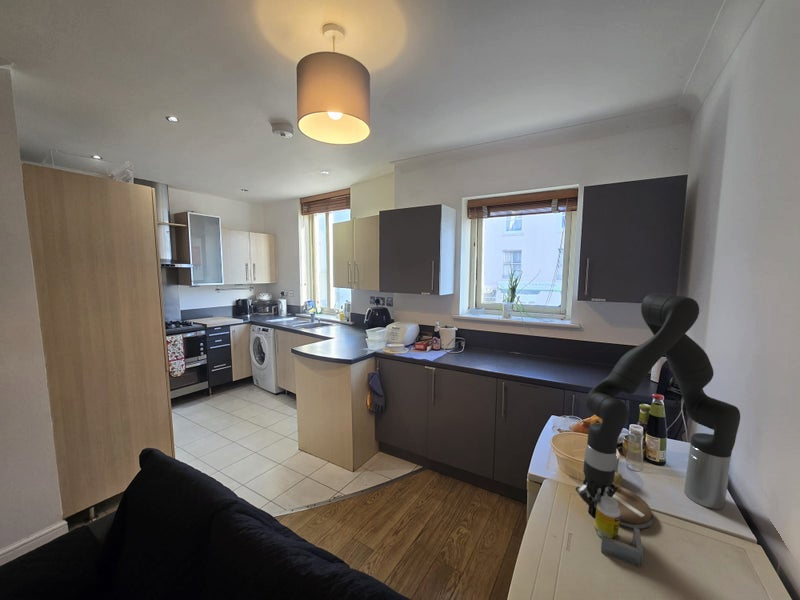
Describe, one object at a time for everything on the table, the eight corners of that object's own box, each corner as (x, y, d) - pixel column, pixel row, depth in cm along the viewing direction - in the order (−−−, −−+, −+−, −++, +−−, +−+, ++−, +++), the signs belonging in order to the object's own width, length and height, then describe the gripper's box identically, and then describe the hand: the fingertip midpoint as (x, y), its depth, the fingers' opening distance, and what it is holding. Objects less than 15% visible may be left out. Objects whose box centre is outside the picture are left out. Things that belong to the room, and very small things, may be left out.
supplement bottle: (614, 546, 85) (618, 512, 83) (591, 533, 89) (595, 500, 87) (619, 533, 89) (623, 500, 87) (597, 521, 93) (600, 490, 91)
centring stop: (634, 539, 87) (636, 526, 86) (659, 561, 80) (660, 547, 80) (598, 549, 84) (599, 535, 83) (620, 572, 78) (622, 558, 77)
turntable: (580, 494, 102) (582, 476, 101) (612, 482, 107) (613, 465, 106) (629, 531, 88) (631, 511, 87) (662, 515, 93) (664, 496, 93)
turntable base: (617, 485, 107) (617, 483, 107) (666, 524, 92) (667, 521, 92) (577, 494, 104) (578, 491, 103) (622, 535, 88) (622, 532, 88)
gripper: (591, 473, 84) (584, 531, 87) (630, 466, 87) (623, 522, 90) (570, 456, 92) (565, 509, 94) (607, 450, 95) (601, 502, 97)
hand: (593, 515), depth 92 cm, fingers closed
